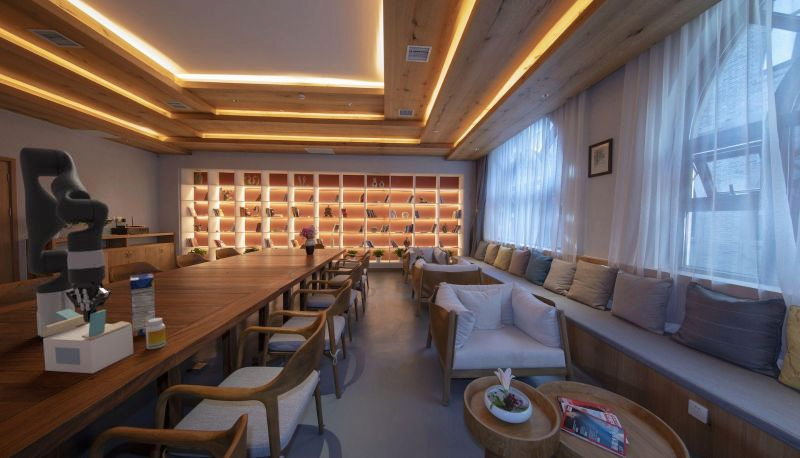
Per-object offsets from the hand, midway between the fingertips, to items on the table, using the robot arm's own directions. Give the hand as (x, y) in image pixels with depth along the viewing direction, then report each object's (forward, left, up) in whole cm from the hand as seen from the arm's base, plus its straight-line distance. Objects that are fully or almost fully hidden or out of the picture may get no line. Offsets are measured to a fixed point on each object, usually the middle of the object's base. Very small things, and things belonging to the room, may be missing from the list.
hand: (90, 321), depth 87 cm
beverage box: (-12, +28, -15) cm, 34 cm away
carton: (-5, +4, -15) cm, 16 cm away
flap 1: (-13, +4, -3) cm, 14 cm away
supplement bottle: (+5, +15, -15) cm, 22 cm away
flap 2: (+1, +4, -5) cm, 6 cm away
